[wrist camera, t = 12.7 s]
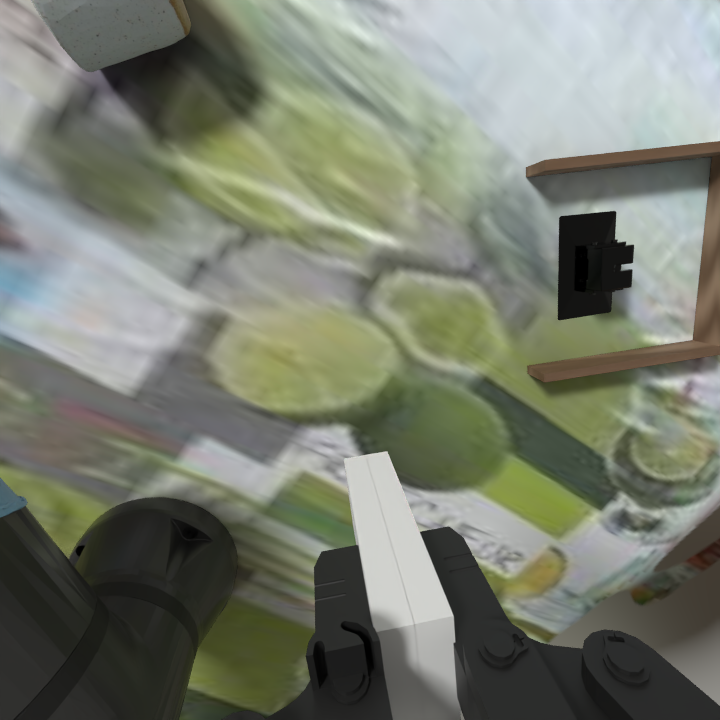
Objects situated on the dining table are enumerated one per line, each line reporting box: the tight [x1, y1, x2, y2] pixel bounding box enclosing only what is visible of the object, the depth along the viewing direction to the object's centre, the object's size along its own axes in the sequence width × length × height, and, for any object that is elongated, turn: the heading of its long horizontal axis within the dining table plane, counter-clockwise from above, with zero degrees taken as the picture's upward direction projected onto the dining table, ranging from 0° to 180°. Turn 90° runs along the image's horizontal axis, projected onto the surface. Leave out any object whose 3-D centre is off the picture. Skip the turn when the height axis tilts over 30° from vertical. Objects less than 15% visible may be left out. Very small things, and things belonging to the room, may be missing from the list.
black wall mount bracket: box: [558, 211, 634, 320], centre depth 37 cm, size 12×7×5 cm, turn 7°
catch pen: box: [526, 141, 720, 382], centre depth 38 cm, size 19×19×3 cm
